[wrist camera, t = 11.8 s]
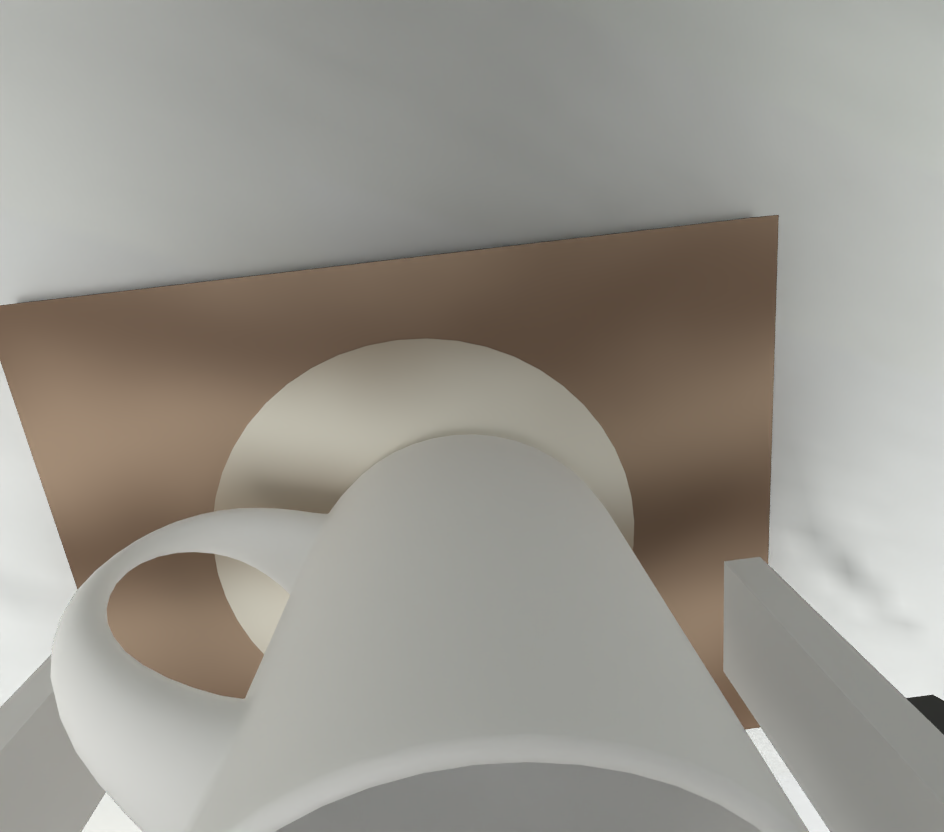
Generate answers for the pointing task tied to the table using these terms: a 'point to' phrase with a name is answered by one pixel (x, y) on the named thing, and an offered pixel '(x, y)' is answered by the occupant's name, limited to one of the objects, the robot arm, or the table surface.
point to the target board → (405, 412)
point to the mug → (424, 671)
